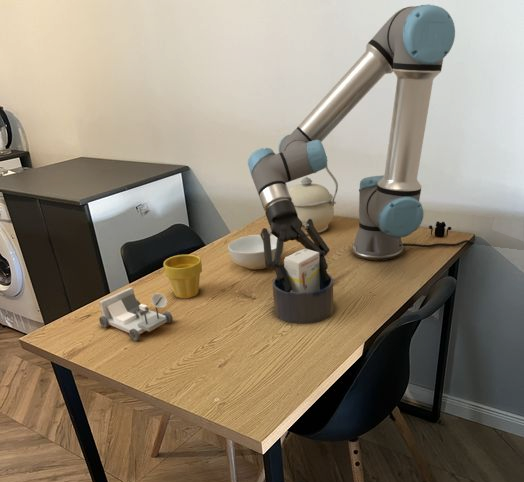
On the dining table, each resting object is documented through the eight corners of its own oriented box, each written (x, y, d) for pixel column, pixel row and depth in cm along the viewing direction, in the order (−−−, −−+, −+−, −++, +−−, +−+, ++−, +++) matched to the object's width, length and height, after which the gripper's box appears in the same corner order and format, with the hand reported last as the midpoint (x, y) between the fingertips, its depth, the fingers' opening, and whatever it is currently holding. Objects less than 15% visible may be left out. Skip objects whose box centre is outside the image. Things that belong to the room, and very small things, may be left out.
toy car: (174, 290, 133) (137, 308, 126) (180, 325, 138) (145, 345, 131) (128, 275, 144) (91, 291, 136) (135, 308, 149) (100, 326, 141)
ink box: (300, 307, 135) (298, 262, 129) (285, 302, 138) (282, 258, 132) (321, 294, 140) (320, 251, 134) (305, 290, 143) (304, 247, 137)
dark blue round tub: (316, 292, 149) (316, 264, 145) (344, 314, 137) (344, 285, 133) (265, 305, 145) (263, 277, 140) (289, 328, 132) (287, 299, 128)
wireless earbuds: (427, 236, 179) (429, 221, 176) (429, 234, 181) (430, 219, 178) (450, 238, 176) (451, 223, 173) (451, 235, 178) (452, 220, 175)
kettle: (345, 222, 198) (345, 150, 185) (329, 239, 184) (328, 162, 171) (281, 218, 208) (277, 149, 195) (261, 234, 193) (255, 161, 181)
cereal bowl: (286, 253, 175) (285, 232, 172) (283, 274, 161) (281, 251, 158) (234, 255, 177) (232, 234, 174) (226, 276, 163) (223, 253, 160)
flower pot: (212, 288, 157) (207, 255, 152) (193, 303, 149) (188, 270, 144) (181, 284, 161) (176, 252, 156) (161, 298, 153) (155, 266, 148)
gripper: (313, 207, 146) (342, 282, 141) (235, 222, 139) (263, 302, 135) (322, 191, 139) (353, 270, 134) (240, 206, 132) (270, 290, 127)
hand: (308, 286), depth 134 cm, fingers closed on ink box, 9 cm apart
